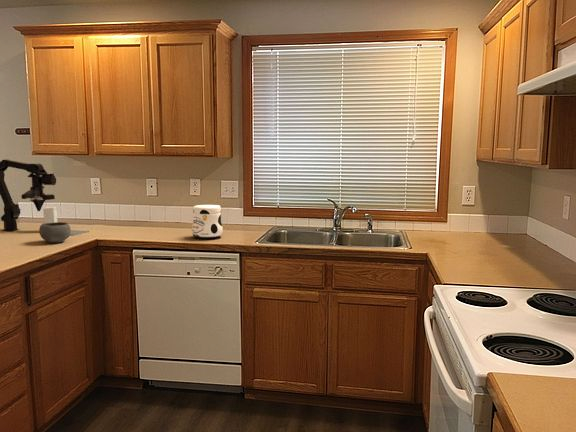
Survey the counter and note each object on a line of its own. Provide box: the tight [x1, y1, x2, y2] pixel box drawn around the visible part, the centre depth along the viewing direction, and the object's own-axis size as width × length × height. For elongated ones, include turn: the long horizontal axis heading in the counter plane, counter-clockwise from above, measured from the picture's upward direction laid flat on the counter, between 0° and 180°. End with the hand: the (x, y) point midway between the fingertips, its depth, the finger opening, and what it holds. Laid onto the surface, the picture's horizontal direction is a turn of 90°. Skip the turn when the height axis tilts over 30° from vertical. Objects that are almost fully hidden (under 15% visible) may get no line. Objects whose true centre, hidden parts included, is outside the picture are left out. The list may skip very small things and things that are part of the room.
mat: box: [69, 229, 89, 236], centre depth 291 cm, size 16×14×1 cm
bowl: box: [38, 221, 72, 244], centre depth 262 cm, size 15×15×10 cm
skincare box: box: [42, 206, 58, 224], centre depth 293 cm, size 8×6×15 cm
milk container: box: [191, 204, 224, 239], centre depth 281 cm, size 17×17×18 cm
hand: (38, 211), depth 294 cm, fingers closed
